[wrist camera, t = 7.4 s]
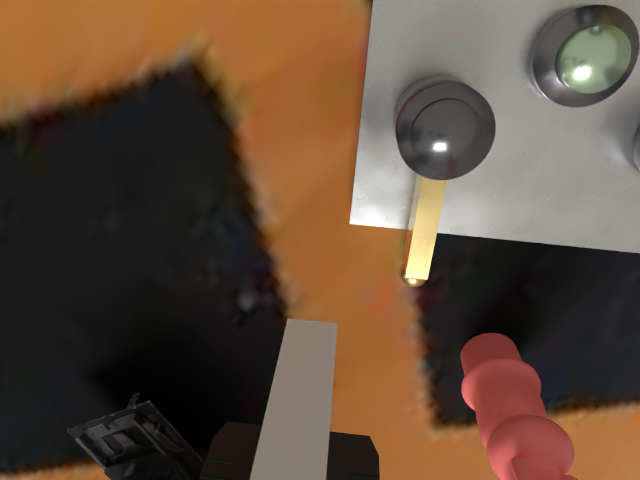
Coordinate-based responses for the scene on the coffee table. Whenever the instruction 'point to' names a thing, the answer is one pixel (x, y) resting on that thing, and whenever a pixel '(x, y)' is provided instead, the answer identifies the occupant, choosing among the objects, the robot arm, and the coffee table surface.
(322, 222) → the coffee table surface
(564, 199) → the tribrach plate
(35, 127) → the coffee table surface
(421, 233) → the screw
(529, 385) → the figurine
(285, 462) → the robot arm
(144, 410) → the vintage camera
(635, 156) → the screw
